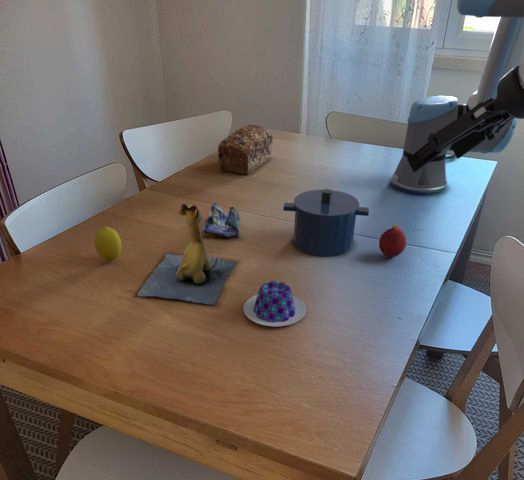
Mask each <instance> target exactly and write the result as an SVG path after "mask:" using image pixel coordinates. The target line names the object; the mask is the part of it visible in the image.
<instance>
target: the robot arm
mask: <svg viewBox="0 0 524 480" xmlns="http://www.w3.org/2000/svg"><path fill="white" fill-rule="evenodd" d="M456 3H457V4H456V9H457V12H458V14H459V15H461V16H468V17H475V18H480V19H481V18H484V17H485V18H498V21H497V24H496V28H495V31H494V34H493V37H492V41H491V45H490V47H489V51H488V54H487V58H486V61H485V64H484V67H483V70H482V73H481V77H480V80H479V84H478V86H477V90H476V91H475V92H472V94H471V95H469V97H468V99H467V101H466V102H467V103H459V102H458V98H457V97H455V96H451V95H450V96H449V95H432V96H426V97H422V98H419V99H417V100H415V101H414V102H413V103H412V104H411V106H410V110H409V114H408V118H407V127H406V132H405V139H404V145H403V150H402V155H401V158H400V160H399V162H398V164H397V166H396V169H395V171H394V172H393V173H392V175H391V185H392V186H393V187H394V188H395V189H397V190H399V191H401V192H404V193H407V194H411V195H421V196H427V195H428V196H429V195H430V196H431V195H438V194H440V193H443V192H444V191H445V190H446V188H447V184H448V178H447V169H446V160H450V159H454V158H456V159H461V158H462V157H463V156H465V155H466V154H467V153H481V154H484V155H485V154H499V153H501V152H502V151H504V150H505V149H506V148H507V146H509V144H510V142H511V140H512V138H513V136H514V134H515V129H516V127H517V123H518V120H523V119H524V0H456ZM448 151H450V152H451V151H452V152H453V153H454V154H451V155H447V152H448Z"/></svg>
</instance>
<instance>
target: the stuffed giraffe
mask: <svg viewBox="0 0 524 480" xmlns="http://www.w3.org/2000/svg"><path fill="white" fill-rule="evenodd" d="M177 213H178V214H179V215H180V216H185V218H186V224H187V227H188V232H189V239H188V240H189V241H188V243H187V246H186V247H185V250H184V252H183V254H182V255H181V254H171V253H169V252H167V253H165V255H164V257H163V260H162V261H161V262H160V264H158V265H157V266H156V267H155V268H154V269H153V272H152V273H151V274H150V275H149V277H148V278H147V279H146V280H145V282H144V283H143V285H142V287H141V289H140V290H139V291H138V292H137V294H136V296H137V297H141V298H143V297H157V298H158V297H159V298H164V299H174V300H180V301H186V302H192V303H194V304H204V305H213V306H214V305H216V303H217V300H218V298H219V296H220V294H221V291H222V289H223V287H224V285H225V283H226V280H227V279H228V277H229V275H230V274H231V272H232V270H233V268H234V267H235V266H236V264H237V260H226V259H222V258H221V259H220V258H218V257H208V255H207V252H206V247H205V243H204V240H203V237H202V234H201V230H200V223H201V222H202V215H201V212H200V210H199V208H198V207H197V205H196V204H189V205H187V204H185V203H181V205H180V206H179V207H178V209H177Z"/></svg>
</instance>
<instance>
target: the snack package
mask: <svg viewBox="0 0 524 480" xmlns="http://www.w3.org/2000/svg"><path fill="white" fill-rule="evenodd" d="M223 207H224V208H225V206H223ZM228 213H229V214H228ZM228 213H227V212H226V211H224V210H223V208H220V207H219V206H218V205H217V204H216V203H215V202H212V203H211V205H210V213H209V214H208V215H209V216H208V218H207V219H206V220H205V221H204V225H203V228H202V229H203V233H204V234H216V235H218V236H219V238H220V239H227V240H228V239H239V237H240V230H239V227H240V224H241V219H242V216H241V214H240V212H239V211H238V209H236V208H235V207H234V206H230V207H229V211H228ZM218 236H217V237H218ZM217 237H216V238H217Z"/></svg>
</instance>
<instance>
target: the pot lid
mask: <svg viewBox="0 0 524 480" xmlns="http://www.w3.org/2000/svg"><path fill="white" fill-rule="evenodd" d="M293 203H294V206H295V207H296V208H297V209H298V210H299V211H301V212H303V213H305V214H308V215H312V216H317V217H327V218H334V217H343V216H347V215H350V214H353V213H354V212H356V211H357V210H358V208H359V207H360V201H359V199H357V198H356V197H355V196H354V195H352V194H349V193H348V192H344V191H339V190H333V189H330V188H324V189H312V190H306V191H303V192H301V193H299V194H297V195H296V196H295V197H294V199H293Z"/></svg>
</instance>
